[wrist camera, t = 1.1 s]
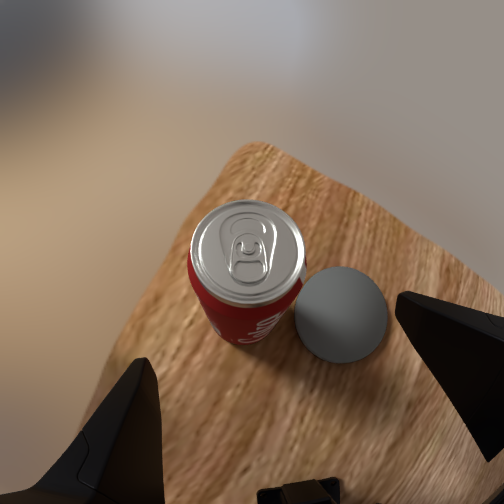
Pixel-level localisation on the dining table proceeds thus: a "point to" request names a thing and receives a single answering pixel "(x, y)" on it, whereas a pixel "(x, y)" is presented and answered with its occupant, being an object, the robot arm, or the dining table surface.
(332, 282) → the coaster
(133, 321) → the dining table surface
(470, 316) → the robot arm
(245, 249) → the soda can
